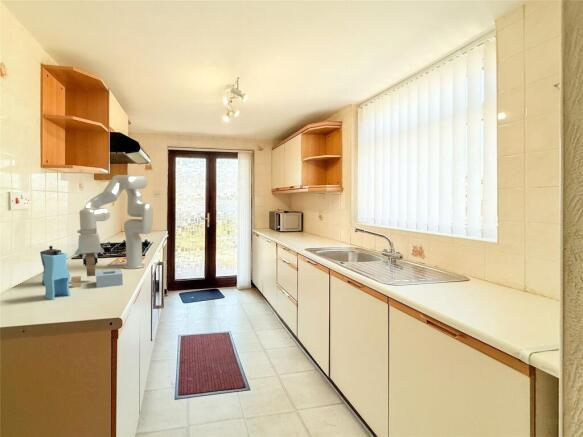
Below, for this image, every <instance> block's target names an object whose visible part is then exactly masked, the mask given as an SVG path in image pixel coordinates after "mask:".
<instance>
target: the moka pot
mask: <svg viewBox="0 0 583 437" xmlns="http://www.w3.org/2000/svg"><path fill="white" fill-rule="evenodd" d="M48 248H49V249H45V250H42V251H39V254H40V259H41V262H42V263H41V264H42V266H43V267H42V268H43V272H42V275H43V274H44V270H45V262H44V259H43V257H42V255H43V254H44V255H49V256H54V255H58V252H61V253H62V250H61V249H57V248H53V245H49V246H48ZM41 280H42V281H41V284H42V285H45V284H44V281H43V279H41Z"/></svg>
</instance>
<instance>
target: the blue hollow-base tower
mask: <svg viewBox="0 0 583 437" xmlns="http://www.w3.org/2000/svg"><path fill="white" fill-rule="evenodd" d="M68 255H69V253H66V252H62V251H61V252H58V255H54V256H49V255H44V254H43V255H42V257H43V259H44V262H45V270H44V269H43V271H44V274H43V273H42V280H43V281H44V284H43V285H44V288H45V293H44V294H45V295H44V299H47V300H50V301H53V300H55V298H56V297H55V296H58V295H64V296H67V297H71V291H70V288H69V287H70V285H69V284H70V280H71V274H70V271H69V269H68V267H67V260H68Z"/></svg>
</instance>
